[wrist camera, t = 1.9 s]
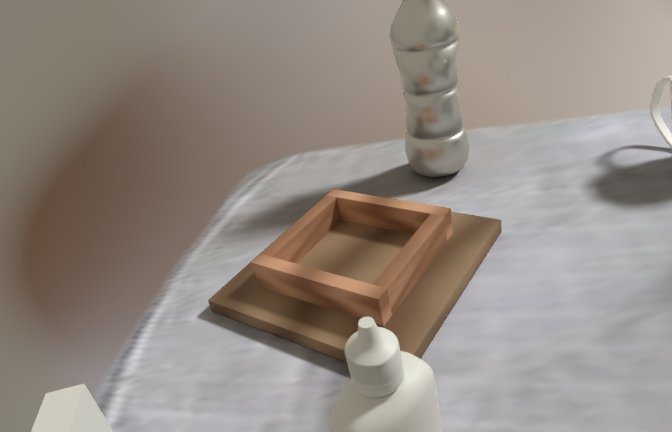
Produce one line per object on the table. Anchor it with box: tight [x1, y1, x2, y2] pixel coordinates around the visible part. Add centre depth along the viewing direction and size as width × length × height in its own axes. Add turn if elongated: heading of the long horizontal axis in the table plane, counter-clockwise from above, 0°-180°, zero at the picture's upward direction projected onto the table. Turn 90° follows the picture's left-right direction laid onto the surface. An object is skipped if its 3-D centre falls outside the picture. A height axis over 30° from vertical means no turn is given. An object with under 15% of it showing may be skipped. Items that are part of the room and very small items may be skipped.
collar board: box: [208, 189, 501, 362], centre depth 44 cm, size 18×18×4 cm
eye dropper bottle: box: [330, 317, 442, 432], centre depth 26 cm, size 4×6×12 cm
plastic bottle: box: [390, 0, 469, 177], centre depth 52 cm, size 6×7×20 cm
